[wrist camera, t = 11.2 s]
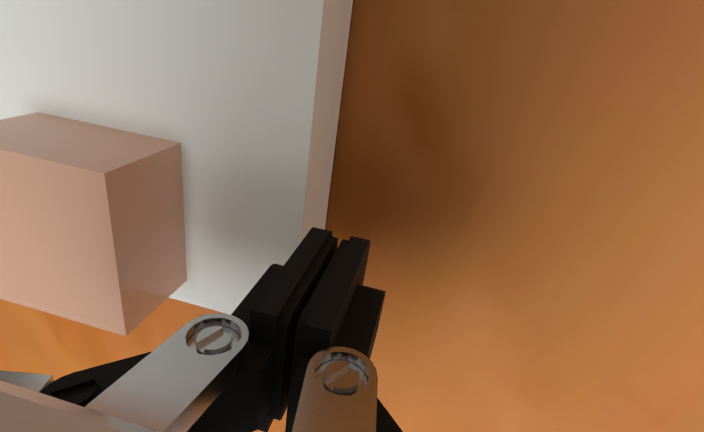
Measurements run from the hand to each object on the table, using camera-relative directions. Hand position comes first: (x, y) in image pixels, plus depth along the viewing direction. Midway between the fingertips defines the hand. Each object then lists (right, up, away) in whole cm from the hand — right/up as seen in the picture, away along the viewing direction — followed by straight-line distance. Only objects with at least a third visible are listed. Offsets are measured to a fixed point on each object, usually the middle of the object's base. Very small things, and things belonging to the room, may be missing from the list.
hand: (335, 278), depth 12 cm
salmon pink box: (-7, +2, +2) cm, 8 cm away
